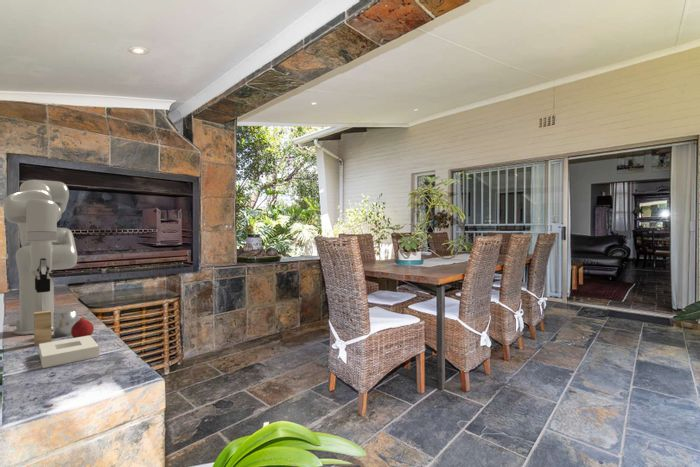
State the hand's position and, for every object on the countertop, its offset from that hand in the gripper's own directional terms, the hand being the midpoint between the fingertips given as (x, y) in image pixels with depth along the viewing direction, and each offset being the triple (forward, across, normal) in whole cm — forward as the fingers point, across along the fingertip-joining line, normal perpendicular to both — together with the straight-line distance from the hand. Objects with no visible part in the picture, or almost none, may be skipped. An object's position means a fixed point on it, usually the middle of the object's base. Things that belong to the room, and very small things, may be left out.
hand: (42, 290), depth 113 cm
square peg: (+17, -1, 0) cm, 17 cm away
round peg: (+17, -9, +6) cm, 20 cm away
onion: (+17, +7, +9) cm, 21 cm away
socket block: (+17, +21, +4) cm, 28 cm away
